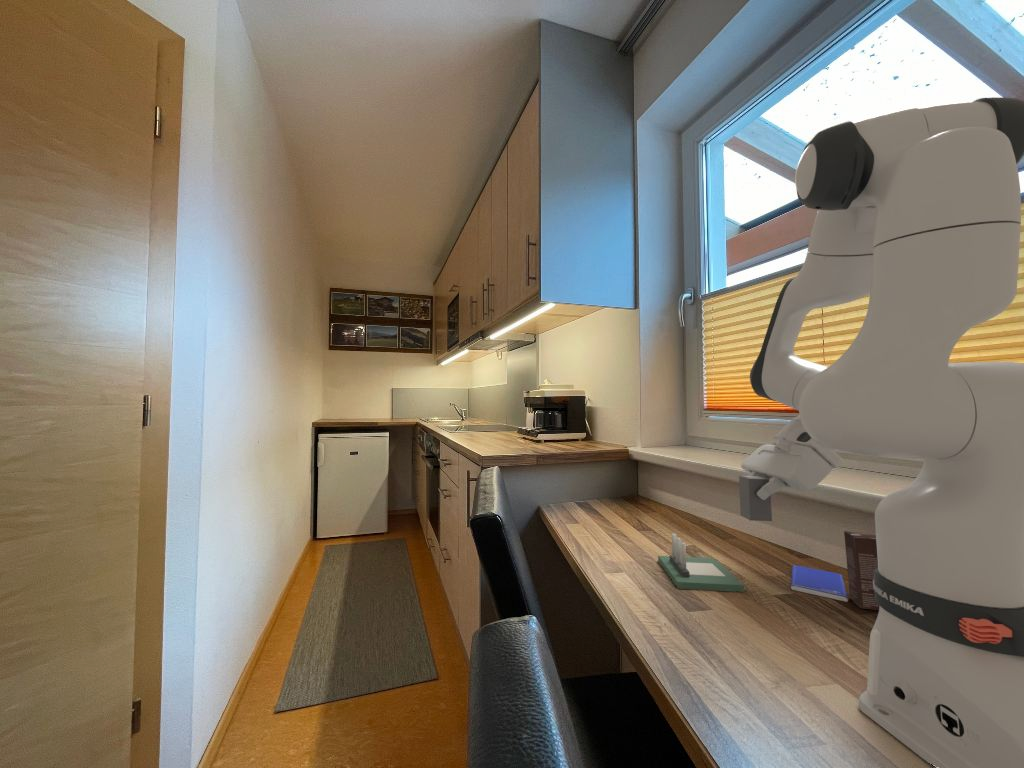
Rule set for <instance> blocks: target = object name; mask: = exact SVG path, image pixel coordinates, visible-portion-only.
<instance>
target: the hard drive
mask: <svg viewBox="0 0 1024 768" xmlns="http://www.w3.org/2000/svg"><path fill="white" fill-rule="evenodd" d="M844 582H845V581H844V578H843V575H842V574H840V573H837V572H833V571H832V572H831V571H827V570H821V569H818V568H811V567H806V566H801V565H792V571H791V582H790V588H791V589H792V590H793V591H795V592H796V591H797V592H801V593H804V594H810V595H814V596H819V597H824V598H828V599H833V600H836V601H837V600H838V601H841V602H845V603H848V595H847V592H846V591H847V590H846V587H845V583H844ZM792 590H791V591H792Z"/></svg>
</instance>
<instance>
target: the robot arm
mask: <svg viewBox="0 0 1024 768" xmlns="http://www.w3.org/2000/svg"><path fill="white" fill-rule="evenodd" d="M1023 158H1024V100H1021V99H1018V98H1012V97H980V98H976V99H975V100H973V101H968V102H967V101H965V102H952V103H943V104H935V105H930V106H929V105H928V106H921V107H908V108H903V109H897V110H894V111H893V110H892V111H889V112H884V113H880V114H876V115H873V116H870V117H866V118H863V119H859V120H857V121H851V120H847V121H843V122H839V123H836V124H834V125H831V126H829V127H826V128H824V129H822V130H819V131H818V132H816V134H814V135H813V137H812V138H811V139H810V140H809V141H808V142H807V143H806V145H805V146H804V148H803V150H802V153H801V155H800V158H799V161H798V163H797V167H796V170H795V187H796V194H797V199H798V201H799V202H800V203H802V204H803V205H804V206H805V207H807V208H808V209H813V210H817V214H816V216H815V218H814V222H813V225H812V229H811V232H810V237H809V240H808V246H807V252H806V257H805V260H804V263H803V265H802V267H801V268H800V270H799V272H798V273H797V274H796V275H795V276H793V277H791V278H789V279H788V280H787V281H786V282H785V284H784V285H783V286H782V288H781V291H780V292H779V294H778V296H777V299H776V303H775V305H774V308H773V311H772V313H771V317H770V320H769V324H768V326H767V330H766V333H765V335H764V339H763V342H762V344H761V345H762V346H761V348H760V351H759V354H758V356H757V358H756V359H755V360H754V361H755V362H754V363H753V365H752V367H751V369H750V373H749V382H750V385H751V388H752V390H753V392H754V394H755V395H757V396H758V397H762V398H764V399H768V400H770V401H773V402H777V403H779V404H782V405H785V406H787V407H788V408H791V409H793V410H796V411H798V412H799V413H798V414H799V415H797V416H796V417H794V418H792V419H791V420H790V421H788V423H786V424H785V426H783V428H781V430H779V431H778V433H776V434H775V435H774V437H773V439H774V442H772V443H771V444H768V443H766V444H762V445H760V446H759V447H758V448H756V449H755V450H754V451H753V452H752V453H751V454H749V455H748V456H747V457H746V458H745V459H744V460H742V461H741V465H740V467H741V469H742V470H743V471H744V472H745V473H747V474H748V476H760V477H764V478H767V479H770V480H769V481H770V482H768V483H767V484H765V485H764V486H762V487H759V488H758V489H757V490H755V492H754V494H755V495H756V496H757V497H758V498H760V499H762V500H766V499H767V498H768V497H769V496H770V495H771V496H772V495H773V494H775V493H777V492H780V491H781V490H782V489H784V487H785V488H788V489H792V490H795V491H799V492H802V493H805V492H808V491H810V490H813V489H814V488H815V487H816V486H818V485H819V484H820V483H821V482H822V481H823V480H824V479H825V478H827V476H828V475H829V474H831V472H832V470H833V469H837V468H839V467H840V466H841V465H842V464H843V463H844V459H843V457H841V456H840V455H839V454H838V453H837V452H836V451H838V452H842V453H847V454H853V455H859V456H864V457H871V458H872V457H873V458H902V459H903V458H905V459H906V458H907V459H908V458H910V459H923V462H922V463H923V464H922V468H921V469H920V471H919V473H918V475H917V476H916V478H915V479H914V480H913V481H912V482H911V483H910V484H909V485H907V486H905V487H904V488H902V489H899V490H897V491H894V492H892V493H890V494H888V495H886V496H884V498H882V499H881V500H880V502H879V503H878V504H877V506H876V509H875V511H874V526H875V534H876V543H877V557H878V568H876V569H875V570H874V580H873V588H874V593H875V601H876V602H877V603H878V604H879V605H880V606H879V610H878V614H877V617H876V619H875V622H874V625H873V627H872V629H871V631H870V635H869V636H870V637H869V647H868V664H867V679H866V681H867V683H866V690H865V691H863V692H862V693H861V694H860V695H859V697H858V709H859V710H860V711H862V713H863V714H864V715H866V716H867V717H868V718H870V719H871V720H872V721H874V722H875V723H876V724H877V725H879V726H880V727H882V729H884V730H885V731H887V733H889V734H891V735H892V736H893V737H894V738H896V739H897V740H898V741H899V742H901V743H902V744H903V745H905V746H906V747H907V748H909V749H910V750H911V751H913V752H914V753H915V754H916V755H918V756H919V757H920V758H922V759H923V760H924V761H925V762H927V763H928V764H929V763H930V764H929V765H931V764H932V765H935V766H936V767H939V768H1024V363H1023V362H1015V361H972V362H971V361H966V362H965V361H964V362H949V361H950V357H951V354H952V352H953V350H954V349H955V346H956V345H957V343H958V342H959V340H960V339H962V337H963V336H964V335H965V334H966V333H967V332H968V331H969V330H970V329H972V328H973V327H976V326H979V325H980V324H983V323H985V322H988V321H989V320H991V319H994V318H995V317H997V316H998V315H1001V314H1002V313H1003V312H1004V311H1005V310H1007V309H1008V307H1009V306H1011V304H1012V303H1013V301H1014V299H1015V298H1016V296H1017V293H1018V289H1017V288H1018V275H1019V262H1020V245H1021V243H1020V242H1021V227H1022V225H1021V224H1022V200H1021V199H1022V197H1021V184H1020V175H1019V170H1018V164H1019V162H1021V160H1022V159H1023ZM868 295H869V298H868V305H867V311H866V315H865V318H864V320H863V323H862V326H861V327H860V329H859V331H858V333H857V335H856V336H855V338H854V339H853V342H852V343H851V344H850V346H849V347H848V348H847V349H846V350H845V351H844V353H842V355H840V357H838V358H837V359H836V360H835V361H834V362H833V363H832V364H830V365H829V366H828V365H826V364H820V363H817V362H814V361H810V360H807V359H804V358H801V357H799V356H798V355H797V354H796V352H795V351H794V348H795V346H796V343H797V339H798V337H799V335H800V332H801V329H802V326H803V324H804V321H805V319H806V316H807V315H808V314H810V312H812V310H814V309H823V308H827V307H828V308H829V307H833V306H838V305H839V306H840V305H843V304H848V303H851V302H855V301H857V300H860V299H862V298H864V297H867V296H868ZM932 765H931V766H932Z"/></svg>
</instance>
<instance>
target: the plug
mask: <svg viewBox="0 0 1024 768" xmlns="http://www.w3.org/2000/svg"><path fill="white" fill-rule="evenodd" d="M769 480H770V479H767V478H764V477H760V476H749V475H738V481H739V485H738V486H739V504H740V506H739V508H740V509H739V510H740V511H739V512H740V516H742V518H745V519H747V520H749V521H757V522H773V512H772V494H771V495H770V496H769V497H768V498H767V499H766V500H762V499H760V498H758V497H757V496H756V495H755V494H754V492H755V490H757V489H758V488H759V487H762V486H764V485H765V484H767V483H768V482H770V481H769Z"/></svg>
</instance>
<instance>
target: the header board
mask: <svg viewBox="0 0 1024 768" xmlns="http://www.w3.org/2000/svg"><path fill="white" fill-rule="evenodd" d="M657 558H658V559H657V561H658V563H659V564H660V566H661V565H662V566H661V567H662V568H663V570H664V571H665V573H666V572H667V573H666V574H667V576H668V577H669V576H670V577H669V578H670V580H671V579H672V580H671V581H672V583H674V585H675V586H677V587H676V588H677V589H678V588H680V589H681V590H697V589H698V591H699V590H700V591H701V590H703V591H719V592H720V591H721V592H736V591H738V593H739V592H741V593H744V592H745V590H746V589H745V584H743V582H741V581H740V580H739V579H738V578H737V577H736V576H734V575H733V573H731V572H730V571H729V570H728V569H727V568H726V567H724V565H722V564H721V563H720V562H719V561H718V560H717V559H716V558H714V557H697V556H687V545H686V542H682V538H680V537H677V533H671V555H658V556H657Z"/></svg>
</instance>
